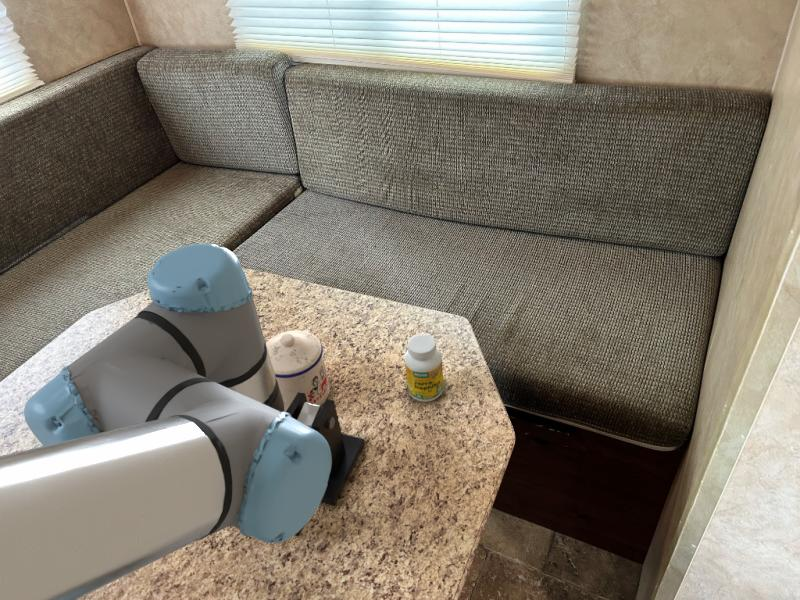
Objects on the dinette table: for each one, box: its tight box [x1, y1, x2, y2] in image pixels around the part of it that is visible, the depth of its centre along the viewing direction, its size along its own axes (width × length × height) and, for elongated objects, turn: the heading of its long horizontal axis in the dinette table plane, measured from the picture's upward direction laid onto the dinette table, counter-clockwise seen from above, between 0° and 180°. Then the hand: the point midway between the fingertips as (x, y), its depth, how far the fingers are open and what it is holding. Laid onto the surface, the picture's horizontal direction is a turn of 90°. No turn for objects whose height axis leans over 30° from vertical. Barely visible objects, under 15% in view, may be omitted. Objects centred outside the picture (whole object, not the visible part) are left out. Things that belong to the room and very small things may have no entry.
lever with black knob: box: [297, 403, 322, 428], centre depth 73 cm, size 13×3×3 cm, turn 160°
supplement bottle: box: [404, 333, 445, 403], centre depth 88 cm, size 5×5×10 cm
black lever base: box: [286, 392, 366, 506], centre depth 78 cm, size 10×8×12 cm
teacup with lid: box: [265, 329, 331, 412], centre depth 89 cm, size 12×9×12 cm
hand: (286, 521), depth 73 cm, fingers closed on lever with black knob, 3 cm apart
